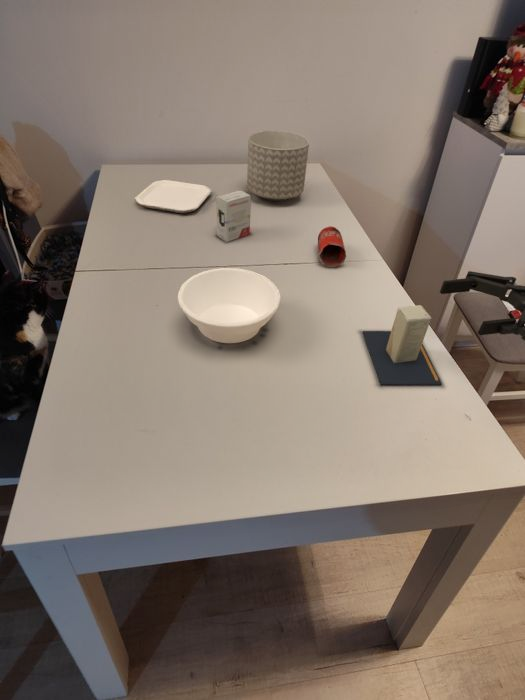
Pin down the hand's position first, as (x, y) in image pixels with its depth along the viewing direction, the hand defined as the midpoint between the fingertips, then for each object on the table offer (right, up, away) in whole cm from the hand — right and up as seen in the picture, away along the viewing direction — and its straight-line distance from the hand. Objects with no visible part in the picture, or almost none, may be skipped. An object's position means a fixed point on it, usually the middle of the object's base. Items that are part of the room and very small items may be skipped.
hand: (460, 306), depth 86 cm
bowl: (-45, -3, +11) cm, 47 cm away
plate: (-67, +40, +58) cm, 97 cm away
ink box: (-47, +25, +42) cm, 68 cm away
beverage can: (-20, +17, +36) cm, 45 cm away
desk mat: (-10, -10, +6) cm, 15 cm away
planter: (-34, +44, +65) cm, 85 cm away
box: (-10, -10, +6) cm, 15 cm away
